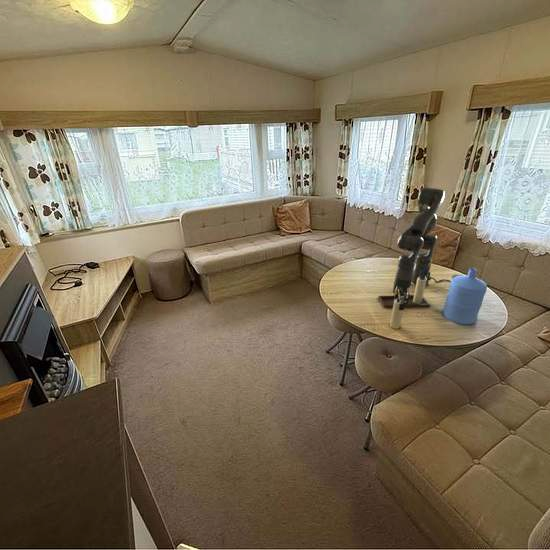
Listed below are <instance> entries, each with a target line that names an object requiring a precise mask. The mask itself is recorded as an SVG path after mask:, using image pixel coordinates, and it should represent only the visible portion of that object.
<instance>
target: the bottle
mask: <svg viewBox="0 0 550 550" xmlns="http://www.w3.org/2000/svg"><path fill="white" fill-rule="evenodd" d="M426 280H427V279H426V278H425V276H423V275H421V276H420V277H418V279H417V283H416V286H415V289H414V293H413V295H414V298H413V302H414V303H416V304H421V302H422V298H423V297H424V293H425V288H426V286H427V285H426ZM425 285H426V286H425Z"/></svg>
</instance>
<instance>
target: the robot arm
mask: <svg viewBox="0 0 550 550" xmlns="http://www.w3.org/2000/svg"><path fill="white" fill-rule="evenodd" d="M444 199H445V191H444V189H442V188H441V189H440V188H435V187H422V188H421V189H420V191H419V192H418V196H417V209H418V214H417V215H416V216H414V217H413V219H412V220H411V222H410V225H409V227H408V228H407V229H405V231H404V232H403V233H402V234H401V235H400V236H399V237H398V239H397V242H396V245H397V248H398V249H399V250H401V251H407V252H411V253H403V254H400V255H399V258H398V263H397V267H396V270H395V275H394V281H393V288H392V293H393V296H395V297H394V300H395V299H397V297H399V299H400V304H399V310H403V311H404V310H405V307H404V306H405V305H408V301H409V298H410V295H411V293H409V294H407V289H408V288H409V287H410V286H411V287H412V286H415V287H416V283H417V279H418V277H420V276H421V275H423V276H425V278H426V279H427V280H426V285H425V287H426V286H428V285H429V282H430V281H431V280H434V282H435V283H440V282H442V281H445V282H450V283H451V281H452V280H450V279H445V278H444V279H443V278H442V279H440V280H436V278H434V277H432V276H431V274H432V273H431V266H432V263H433V262H432V261H433V258H434V253H435V249H436V246H437V243H438V236H437V235H434V234H431V232H433V231H434V230H435V229H436V227H437V222H438V221H437V220H438V217H437V215H436V213H437V212H438V211H439V209H440V208H441V206H442V204H443V202H444ZM421 250H426V251H423V252H421ZM411 283H412V284H411ZM401 296H403V297H401Z"/></svg>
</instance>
